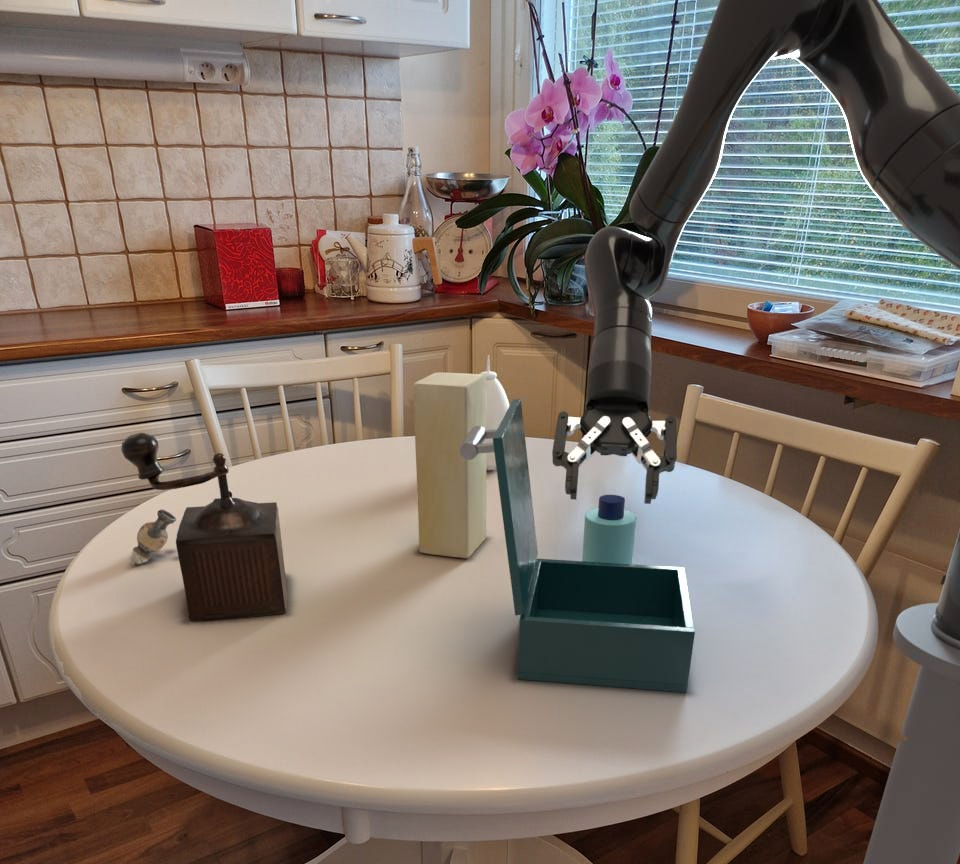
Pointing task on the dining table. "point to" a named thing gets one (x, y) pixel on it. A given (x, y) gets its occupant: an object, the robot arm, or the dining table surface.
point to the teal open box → (607, 625)
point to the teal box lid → (511, 495)
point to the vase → (152, 537)
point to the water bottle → (609, 532)
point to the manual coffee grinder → (221, 544)
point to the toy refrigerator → (449, 463)
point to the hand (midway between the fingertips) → (610, 498)
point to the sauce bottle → (493, 408)
